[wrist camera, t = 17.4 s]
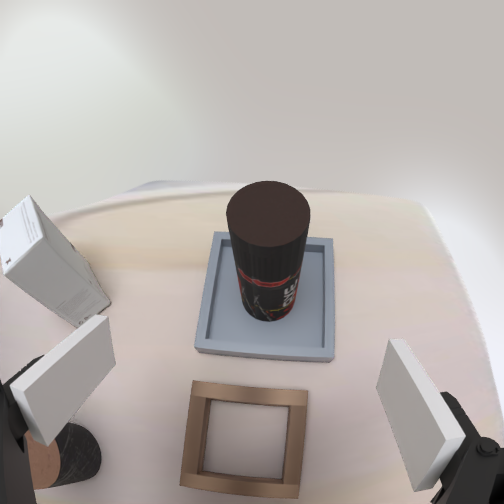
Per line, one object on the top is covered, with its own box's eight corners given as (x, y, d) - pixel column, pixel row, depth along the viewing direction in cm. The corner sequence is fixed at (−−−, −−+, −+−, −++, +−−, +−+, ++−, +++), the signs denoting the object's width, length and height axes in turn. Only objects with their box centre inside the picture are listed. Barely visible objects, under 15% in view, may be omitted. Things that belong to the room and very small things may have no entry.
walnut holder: (186, 480, 25) (179, 485, 23) (198, 384, 31) (192, 380, 28) (295, 492, 25) (298, 498, 22) (304, 393, 30) (308, 390, 28)
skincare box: (112, 304, 36) (47, 237, 23) (77, 331, 34) (1, 277, 21) (87, 260, 40) (30, 189, 27) (55, 285, 38) (-9, 223, 25)
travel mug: (89, 414, 29) (-47, 377, 12) (114, 474, 25) (-20, 490, 8) (44, 429, 27) (-87, 398, 10) (65, 486, 24) (-66, 492, 7)
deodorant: (280, 330, 33) (289, 260, 20) (231, 307, 35) (210, 226, 22) (303, 285, 36) (322, 197, 23) (257, 264, 37) (251, 171, 24)
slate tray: (198, 352, 33) (194, 346, 31) (217, 242, 40) (214, 231, 38) (329, 362, 32) (334, 357, 30) (329, 249, 39) (332, 238, 37)
